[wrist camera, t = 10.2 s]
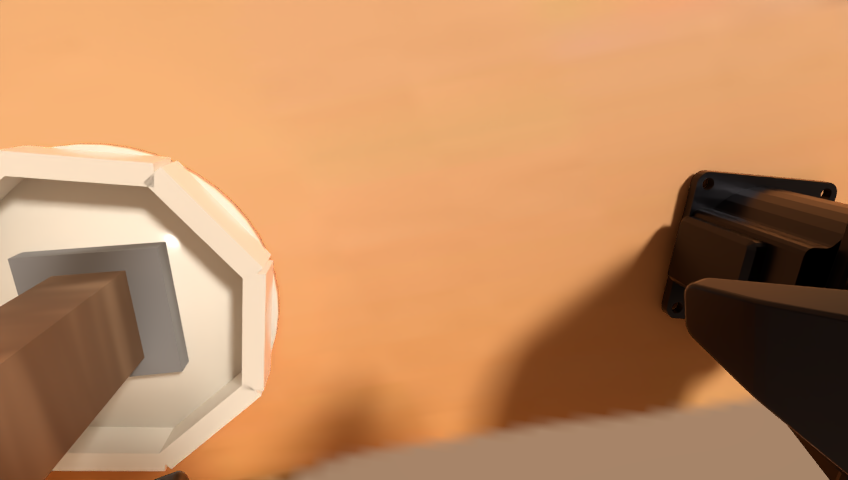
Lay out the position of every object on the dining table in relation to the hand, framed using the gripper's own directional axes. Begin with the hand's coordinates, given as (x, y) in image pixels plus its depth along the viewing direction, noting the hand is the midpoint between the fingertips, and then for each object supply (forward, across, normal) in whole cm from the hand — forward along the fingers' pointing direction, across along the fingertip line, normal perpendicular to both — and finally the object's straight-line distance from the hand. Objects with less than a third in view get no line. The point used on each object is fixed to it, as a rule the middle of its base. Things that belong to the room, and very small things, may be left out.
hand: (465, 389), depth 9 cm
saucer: (+14, +10, +1) cm, 17 cm away
